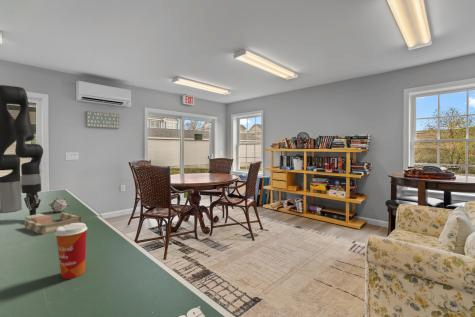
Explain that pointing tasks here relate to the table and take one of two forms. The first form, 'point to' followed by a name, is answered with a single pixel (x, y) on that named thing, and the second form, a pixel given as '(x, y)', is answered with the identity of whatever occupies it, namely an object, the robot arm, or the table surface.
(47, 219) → the terracotta tile
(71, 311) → the table surface
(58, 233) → the paper cup
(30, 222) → the box
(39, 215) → the cream tile
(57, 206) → the game die
